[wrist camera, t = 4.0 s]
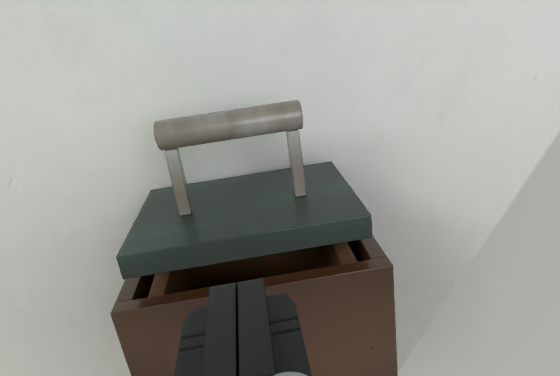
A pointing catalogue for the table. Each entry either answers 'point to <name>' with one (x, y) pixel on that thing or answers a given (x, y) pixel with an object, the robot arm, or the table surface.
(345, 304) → the cabinet
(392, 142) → the table surface
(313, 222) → the drawer
